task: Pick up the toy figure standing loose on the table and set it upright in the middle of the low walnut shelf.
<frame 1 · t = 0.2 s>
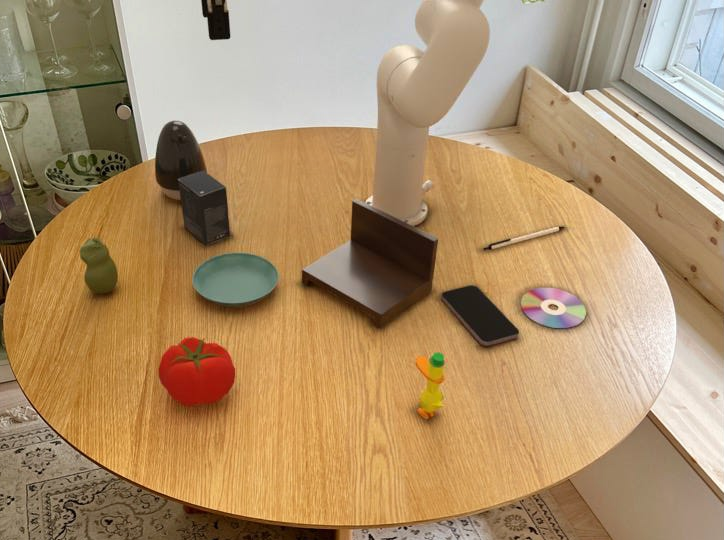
hand: (216, 27, 117), 37 cm above the table, tool pointing down, fingers open, 9 cm apart
tomato: (200, 393, 112), on the table
smartphone: (478, 317, 127), on the table
box: (207, 233, 143), on the table
cd: (552, 308, 129), on the table
shelf: (366, 287, 132), on the table
pen: (524, 240, 145), on the table
saucer: (236, 289, 131), on the table
toy figure: (425, 413, 111), on the table
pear: (104, 290, 129), on the table
dark brown egg shape: (184, 194, 152), on the table
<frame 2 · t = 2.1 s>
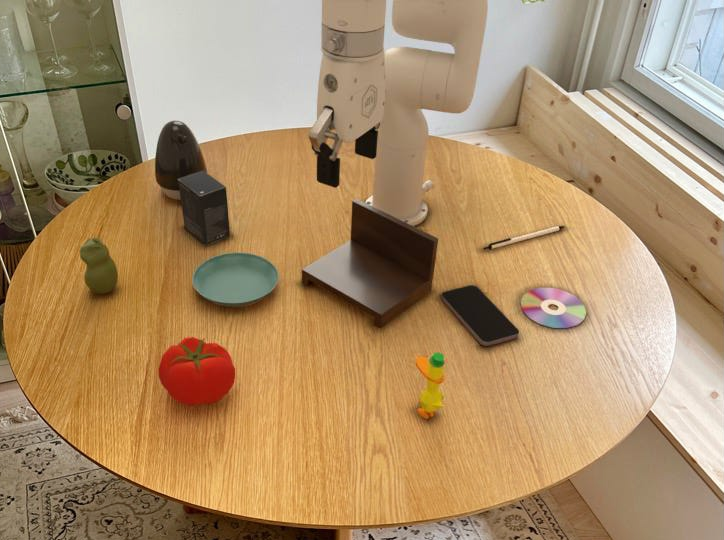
hand: (347, 169, 102), 30 cm above the table, tool pointing down, fingers open, 9 cm apart
nothing on the table moved.
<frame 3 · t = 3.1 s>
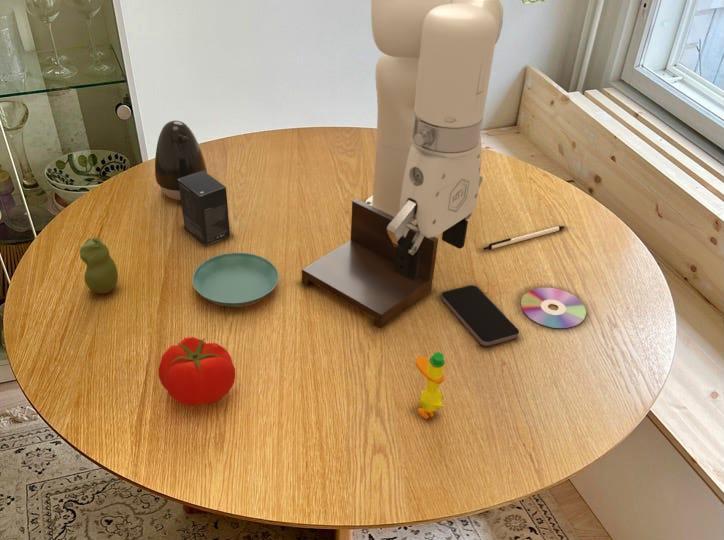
hand: (429, 259, 95), 25 cm above the table, tool pointing down, fingers open, 9 cm apart
nothing on the table moved.
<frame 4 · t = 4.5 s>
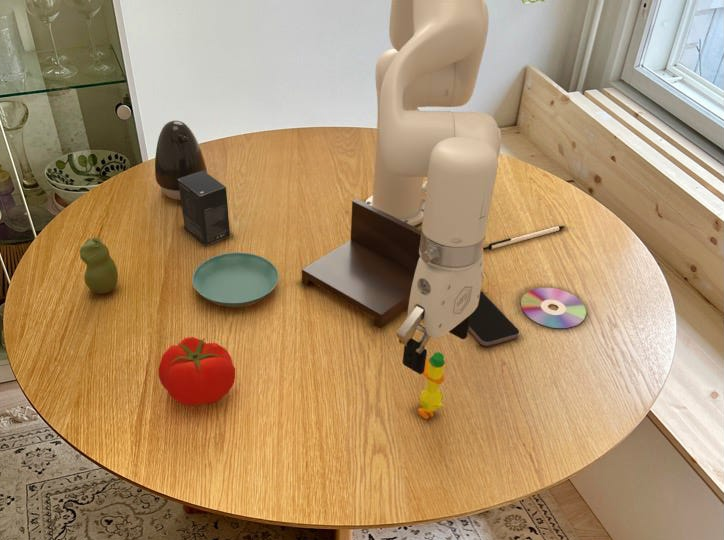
hand: (435, 351, 102), 12 cm above the table, tool pointing down, fingers open, 9 cm apart
nothing on the table moved.
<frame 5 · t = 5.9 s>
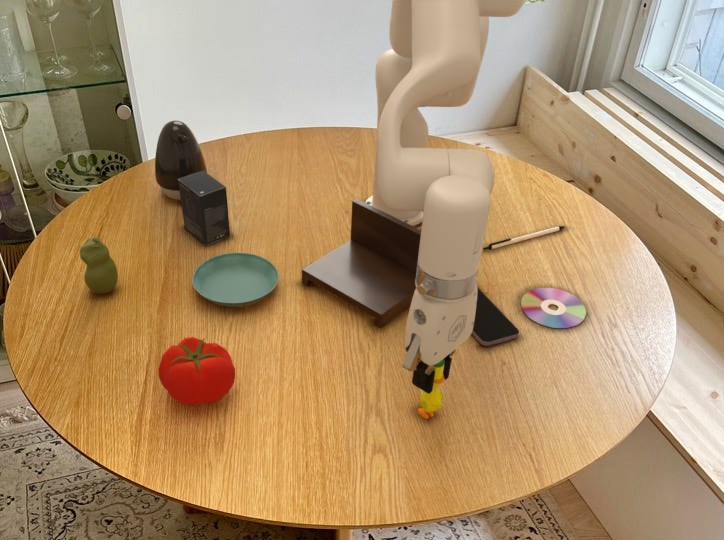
hand: (430, 380, 106), 7 cm above the table, tool pointing down, fingers closed on toy figure, 3 cm apart
toy figure: (425, 413, 111), on the table, touching gripper
everything else where it was.
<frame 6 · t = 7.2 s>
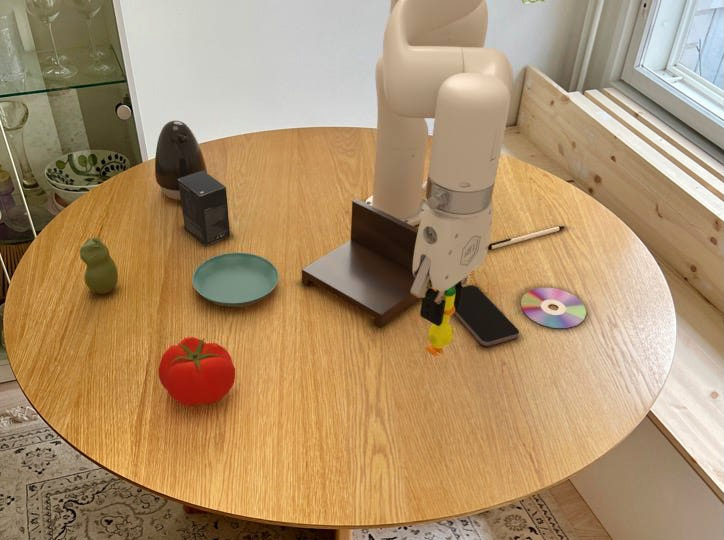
hand: (439, 312, 98), 18 cm above the table, tool pointing down, fingers closed on toy figure, 3 cm apart
toy figure: (433, 350, 103), point 12 cm above the table, touching gripper
everything else where it was.
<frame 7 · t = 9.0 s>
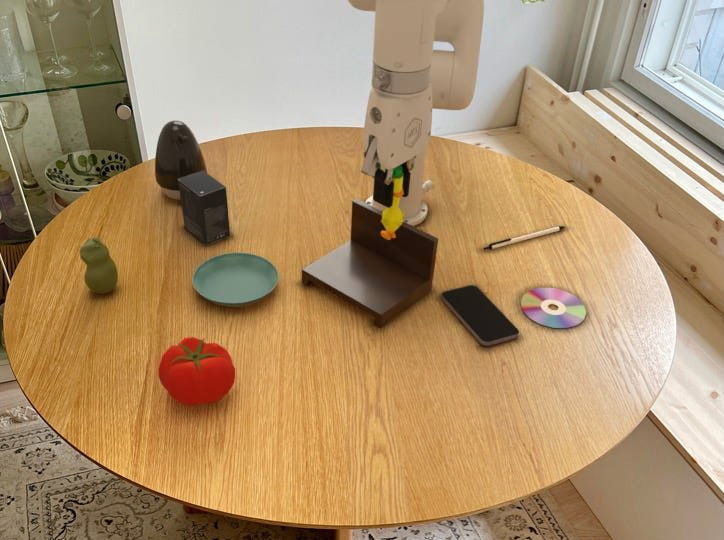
hand: (390, 197, 111), 23 cm above the table, tool pointing down, fingers closed on toy figure, 3 cm apart
toy figure: (387, 236, 115), point 16 cm above the table, touching gripper
everything else where it was.
when the fingers open (10 cm above the table, at t = 13.0 s): toy figure stays where it is, resting on shelf.
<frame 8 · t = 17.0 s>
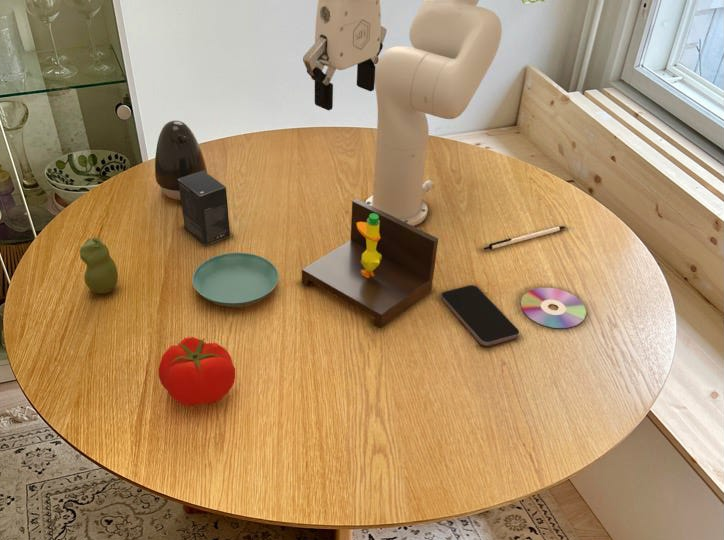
hand: (344, 97, 116), 30 cm above the table, tool pointing down, fingers open, 9 cm apart
toy figure: (367, 274, 130), point 3 cm above the table, touching shelf
everything else where it was.
at the end: toy figure inside the target area on the shelf (0.0 cm from its centre), point 2.8 cm above the shelf's base; toy figure tilted 0°; the gripper is holding nothing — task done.
